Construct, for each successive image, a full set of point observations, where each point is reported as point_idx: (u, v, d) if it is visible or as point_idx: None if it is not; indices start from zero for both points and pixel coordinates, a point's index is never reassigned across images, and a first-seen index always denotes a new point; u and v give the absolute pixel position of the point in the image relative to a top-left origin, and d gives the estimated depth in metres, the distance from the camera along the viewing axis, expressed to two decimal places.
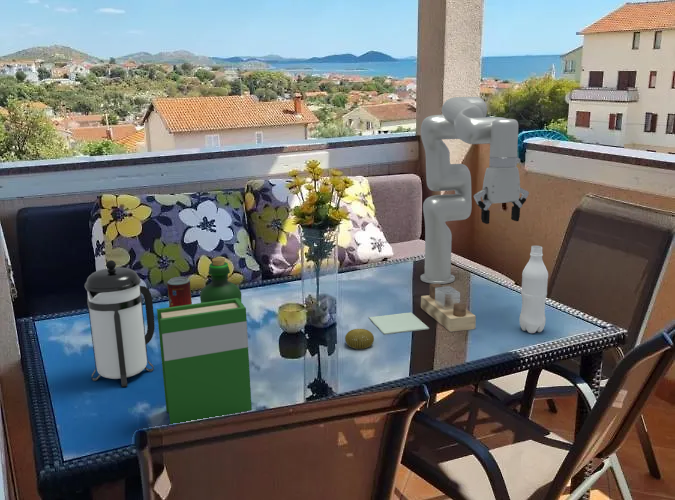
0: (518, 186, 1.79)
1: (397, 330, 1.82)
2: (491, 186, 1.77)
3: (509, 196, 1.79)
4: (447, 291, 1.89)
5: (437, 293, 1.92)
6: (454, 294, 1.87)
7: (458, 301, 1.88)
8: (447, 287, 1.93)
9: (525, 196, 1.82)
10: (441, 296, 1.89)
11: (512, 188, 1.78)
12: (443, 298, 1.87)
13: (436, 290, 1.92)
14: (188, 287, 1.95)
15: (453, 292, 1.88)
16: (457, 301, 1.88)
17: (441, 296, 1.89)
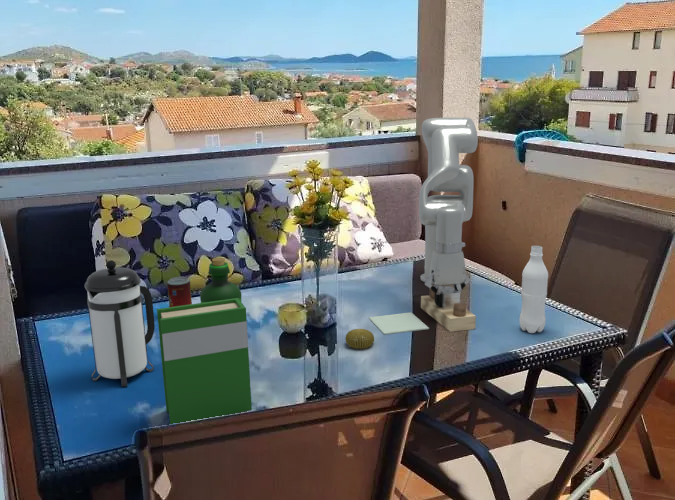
0: (463, 269, 1.88)
1: (397, 330, 1.82)
2: (437, 270, 1.86)
3: (454, 279, 1.88)
4: (447, 291, 1.89)
5: None
6: (454, 294, 1.87)
7: (458, 301, 1.88)
8: (447, 287, 1.93)
9: (466, 282, 1.91)
10: None
11: (457, 271, 1.87)
12: (443, 298, 1.87)
13: None
14: (188, 287, 1.95)
15: (453, 292, 1.88)
16: (457, 301, 1.88)
17: None
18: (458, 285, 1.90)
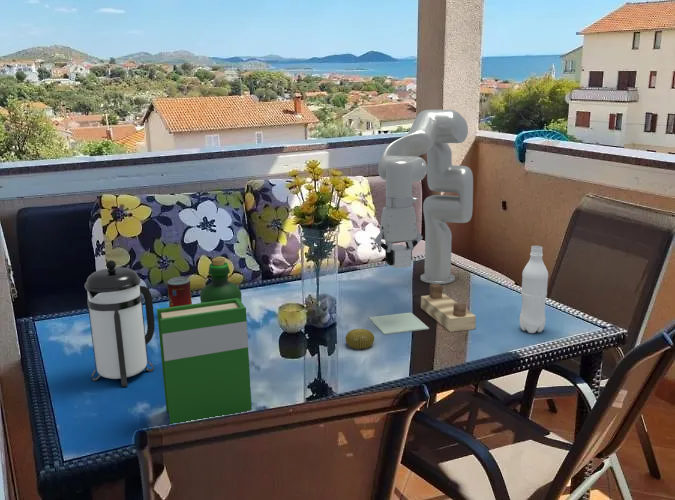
0: (414, 225, 1.80)
1: (397, 330, 1.82)
2: (386, 226, 1.78)
3: (405, 235, 1.80)
4: (398, 248, 1.82)
5: None
6: (405, 251, 1.80)
7: (409, 259, 1.81)
8: (399, 245, 1.85)
9: (418, 239, 1.83)
10: None
11: (408, 227, 1.80)
12: (394, 255, 1.80)
13: None
14: (188, 287, 1.95)
15: (404, 249, 1.80)
16: (408, 259, 1.81)
17: (392, 254, 1.81)
18: (409, 242, 1.82)
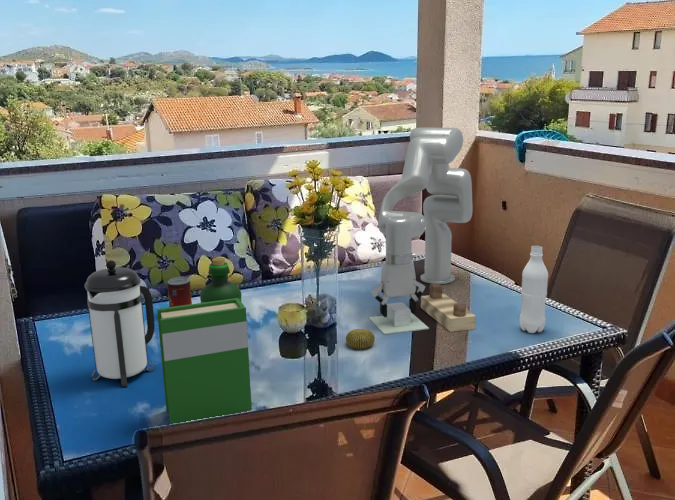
0: (413, 280, 1.84)
1: (397, 330, 1.82)
2: (386, 282, 1.82)
3: (405, 290, 1.84)
4: (398, 307, 1.86)
5: (388, 310, 1.89)
6: (404, 311, 1.84)
7: (409, 318, 1.85)
8: (399, 303, 1.90)
9: (421, 290, 1.87)
10: (391, 313, 1.86)
11: (407, 283, 1.84)
12: (393, 315, 1.84)
13: (387, 306, 1.89)
14: (188, 287, 1.95)
15: (403, 309, 1.85)
16: (408, 318, 1.85)
17: (391, 313, 1.86)
18: (412, 295, 1.86)
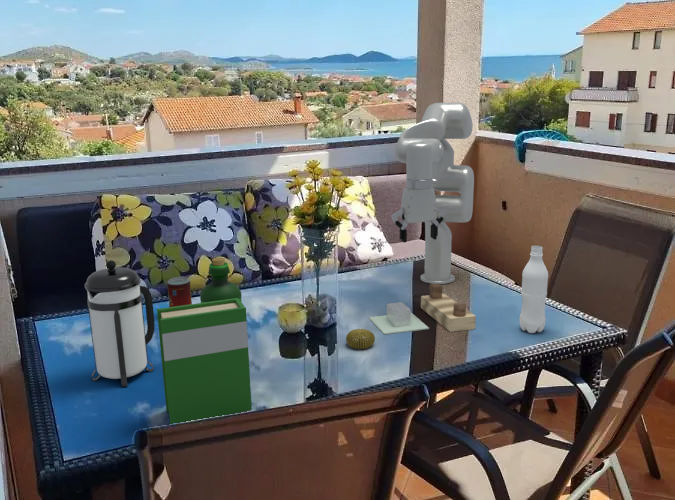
0: (434, 206, 1.85)
1: (397, 330, 1.82)
2: (407, 207, 1.83)
3: (425, 216, 1.85)
4: (398, 307, 1.86)
5: (388, 310, 1.89)
6: (404, 311, 1.84)
7: (409, 318, 1.85)
8: (399, 303, 1.90)
9: (443, 215, 1.89)
10: (391, 313, 1.86)
11: (428, 208, 1.85)
12: (393, 315, 1.84)
13: (387, 306, 1.89)
14: (188, 287, 1.95)
15: (403, 309, 1.85)
16: (408, 318, 1.85)
17: (391, 313, 1.86)
18: (433, 220, 1.87)
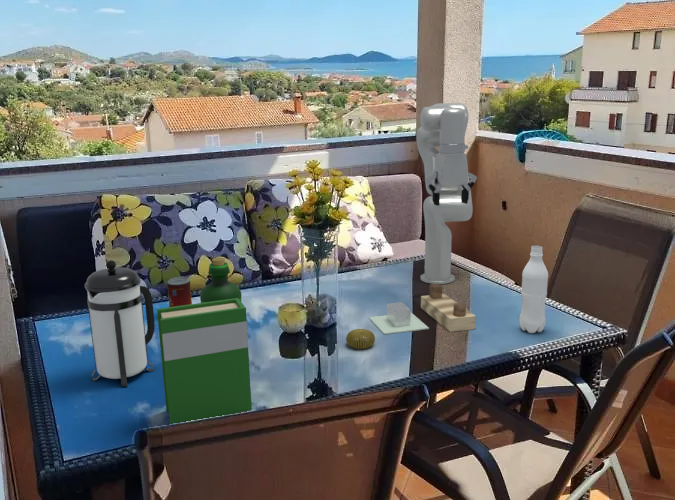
0: (466, 171, 1.94)
1: (397, 330, 1.82)
2: (440, 170, 1.92)
3: (458, 180, 1.94)
4: (398, 307, 1.86)
5: (388, 310, 1.89)
6: (404, 311, 1.84)
7: (409, 318, 1.85)
8: (399, 303, 1.90)
9: (473, 180, 1.97)
10: (391, 313, 1.86)
11: (460, 172, 1.93)
12: (393, 315, 1.84)
13: (387, 306, 1.89)
14: (188, 287, 1.95)
15: (403, 309, 1.85)
16: (408, 318, 1.85)
17: (391, 313, 1.86)
18: (465, 185, 1.96)
